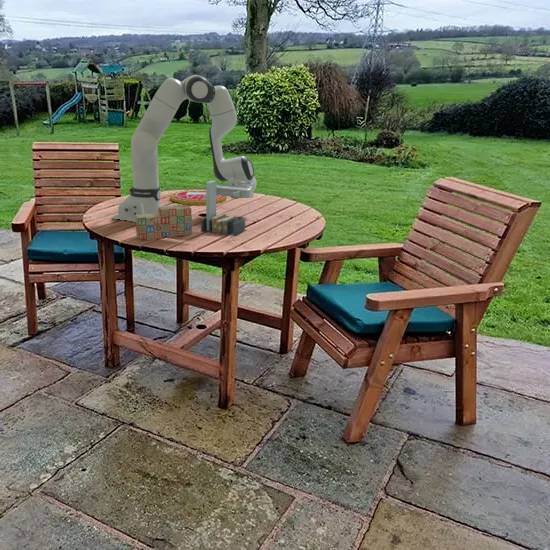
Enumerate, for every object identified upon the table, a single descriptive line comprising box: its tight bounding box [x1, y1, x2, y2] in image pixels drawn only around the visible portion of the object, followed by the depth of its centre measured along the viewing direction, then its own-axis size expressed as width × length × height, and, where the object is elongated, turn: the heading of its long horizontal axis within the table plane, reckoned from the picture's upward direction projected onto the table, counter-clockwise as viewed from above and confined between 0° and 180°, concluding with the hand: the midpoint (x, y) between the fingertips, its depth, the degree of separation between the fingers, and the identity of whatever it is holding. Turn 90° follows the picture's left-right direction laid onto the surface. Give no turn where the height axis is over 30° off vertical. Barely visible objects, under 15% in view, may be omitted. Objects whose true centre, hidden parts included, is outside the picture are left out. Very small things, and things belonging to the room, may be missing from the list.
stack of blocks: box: [135, 204, 193, 241], centre depth 212 cm, size 21×6×12 cm, turn 112°
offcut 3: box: [222, 215, 236, 234], centre depth 220 cm, size 2×8×6 cm, turn 159°
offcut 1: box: [212, 213, 227, 234], centre depth 222 cm, size 2×9×6 cm, turn 159°
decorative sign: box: [169, 189, 228, 206], centre depth 284 cm, size 30×3×30 cm
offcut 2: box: [215, 215, 230, 235], centre depth 221 cm, size 2×10×5 cm, turn 159°
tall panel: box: [205, 180, 217, 230], centre depth 221 cm, size 2×6×20 cm, turn 159°
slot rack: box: [200, 216, 248, 237], centre depth 221 cm, size 17×11×6 cm, turn 69°
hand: (222, 194), depth 229 cm, fingers open, 8 cm apart
